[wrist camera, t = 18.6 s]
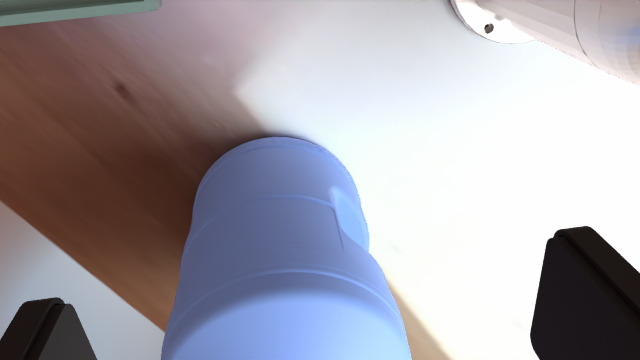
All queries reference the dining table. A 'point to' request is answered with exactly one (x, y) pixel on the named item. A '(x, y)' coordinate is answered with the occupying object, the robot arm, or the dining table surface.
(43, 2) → the green tray
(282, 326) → the water jug
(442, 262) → the dining table surface
